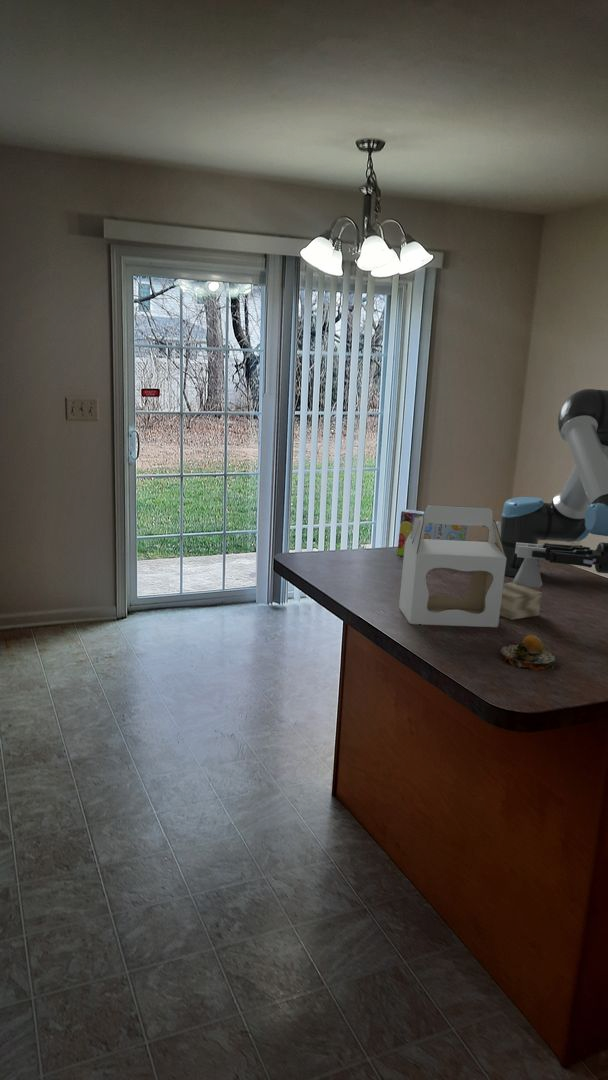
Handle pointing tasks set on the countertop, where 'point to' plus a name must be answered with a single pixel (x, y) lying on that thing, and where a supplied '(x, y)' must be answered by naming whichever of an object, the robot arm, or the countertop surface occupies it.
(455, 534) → the snack box
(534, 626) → the countertop surface
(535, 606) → the beech box
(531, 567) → the flask
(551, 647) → the countertop surface
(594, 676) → the countertop surface
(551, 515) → the robot arm
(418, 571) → the gable box
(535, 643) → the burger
